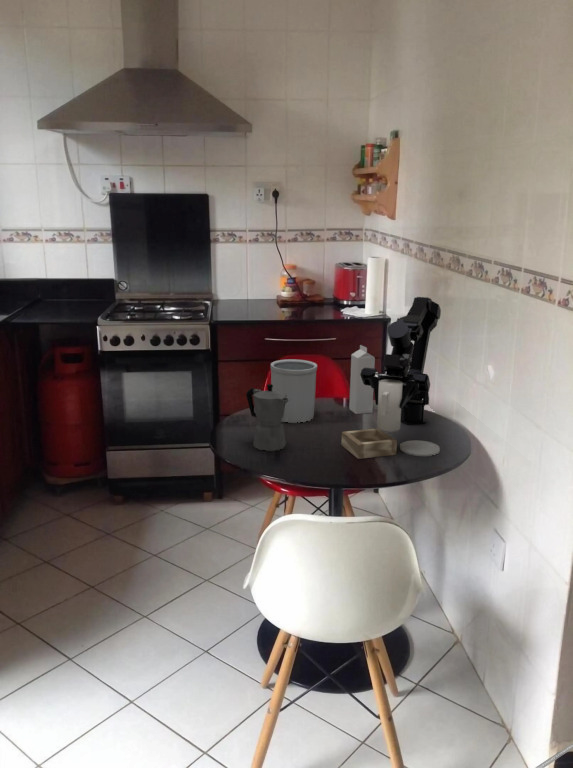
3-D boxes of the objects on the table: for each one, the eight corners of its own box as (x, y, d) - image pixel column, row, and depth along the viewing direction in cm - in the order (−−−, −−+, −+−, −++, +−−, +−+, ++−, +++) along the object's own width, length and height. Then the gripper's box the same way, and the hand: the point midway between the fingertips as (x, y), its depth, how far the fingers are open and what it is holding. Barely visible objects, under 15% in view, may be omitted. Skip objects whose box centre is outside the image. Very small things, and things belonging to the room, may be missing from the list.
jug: (380, 422, 189) (382, 378, 186) (402, 425, 187) (405, 380, 184) (370, 432, 181) (372, 386, 178) (394, 436, 179) (396, 389, 175)
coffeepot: (298, 447, 189) (299, 385, 184) (275, 455, 182) (276, 391, 177) (258, 435, 198) (258, 376, 194) (235, 442, 191) (235, 381, 187)
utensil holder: (325, 417, 216) (326, 364, 212) (293, 427, 206) (294, 371, 202) (292, 407, 226) (293, 357, 222) (260, 416, 216) (260, 363, 212)
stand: (377, 441, 194) (378, 428, 193) (396, 454, 184) (396, 440, 183) (341, 445, 191) (341, 431, 190) (358, 458, 180) (358, 444, 179)
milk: (355, 414, 220) (357, 348, 215) (349, 409, 226) (351, 345, 220) (372, 413, 222) (375, 347, 216) (365, 407, 227) (368, 344, 222)
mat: (426, 441, 195) (427, 438, 195) (447, 454, 185) (447, 451, 185) (392, 445, 191) (393, 442, 191) (412, 458, 181) (412, 455, 181)
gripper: (363, 339, 186) (349, 387, 179) (430, 345, 179) (419, 395, 172) (370, 360, 195) (357, 407, 188) (434, 367, 188) (423, 415, 181)
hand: (388, 406), depth 182 cm, fingers closed on jug, 6 cm apart
